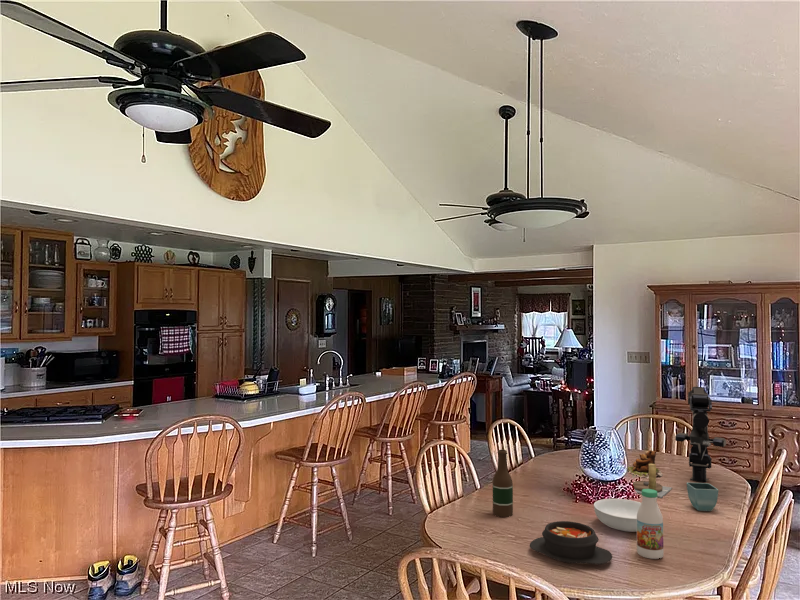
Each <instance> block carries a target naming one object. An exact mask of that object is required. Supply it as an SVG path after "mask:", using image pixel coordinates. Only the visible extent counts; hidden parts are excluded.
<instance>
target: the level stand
mask: <svg viewBox="0 0 800 600" xmlns="http://www.w3.org/2000/svg"><path fill="white" fill-rule="evenodd" d="M671 489H672V490H673V487H670V486H664V485H662V491H660V492H657V494H658V495H657V498H658V497H659V499H663V498H664V497H665V496H666V495H668V494H669V493H670V492H671V491H672V490H671ZM670 490H671V491H670ZM635 491H636V492H637V493H639V494H638V495H642V491H640V490H637V489H635ZM637 493H636V494H637ZM663 496H664V497H663Z"/></svg>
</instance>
